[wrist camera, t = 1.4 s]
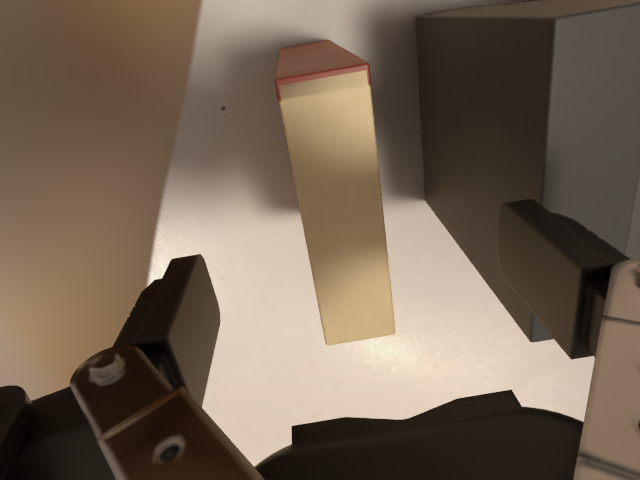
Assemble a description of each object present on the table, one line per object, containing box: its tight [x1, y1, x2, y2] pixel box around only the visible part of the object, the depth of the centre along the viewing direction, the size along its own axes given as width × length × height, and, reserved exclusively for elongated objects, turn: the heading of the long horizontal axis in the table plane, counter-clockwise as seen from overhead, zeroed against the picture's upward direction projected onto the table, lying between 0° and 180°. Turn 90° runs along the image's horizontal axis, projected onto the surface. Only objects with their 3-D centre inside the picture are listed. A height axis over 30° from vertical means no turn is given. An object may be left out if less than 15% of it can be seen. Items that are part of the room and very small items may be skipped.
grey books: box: [416, 0, 640, 342], centre depth 18 cm, size 10×9×14 cm
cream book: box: [274, 40, 395, 345], centre depth 19 cm, size 9×2×12 cm, turn 9°
